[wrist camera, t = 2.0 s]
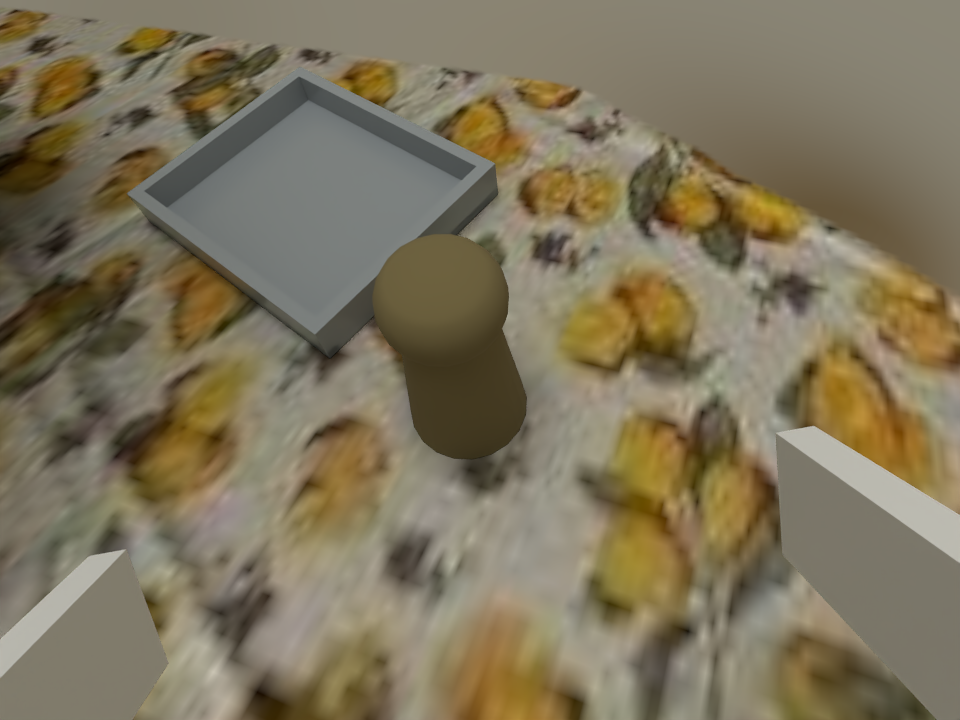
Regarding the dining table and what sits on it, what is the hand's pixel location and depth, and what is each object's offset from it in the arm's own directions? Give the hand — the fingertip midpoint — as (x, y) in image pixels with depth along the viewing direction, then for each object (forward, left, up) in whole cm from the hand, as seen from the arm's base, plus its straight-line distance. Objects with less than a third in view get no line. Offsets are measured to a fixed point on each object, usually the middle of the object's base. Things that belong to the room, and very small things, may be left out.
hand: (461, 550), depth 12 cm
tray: (-25, +12, -15) cm, 32 cm away
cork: (-8, +7, -16) cm, 19 cm away
